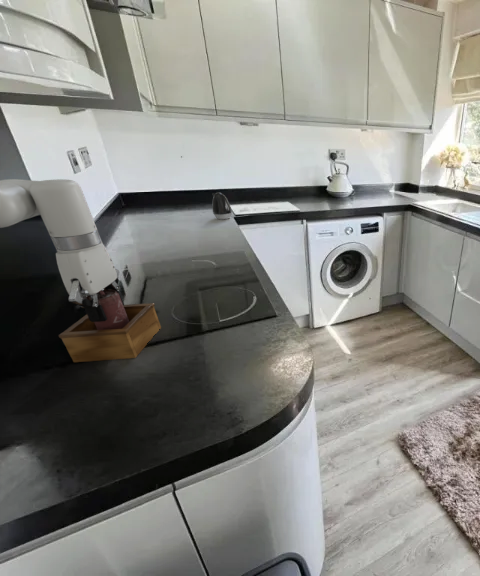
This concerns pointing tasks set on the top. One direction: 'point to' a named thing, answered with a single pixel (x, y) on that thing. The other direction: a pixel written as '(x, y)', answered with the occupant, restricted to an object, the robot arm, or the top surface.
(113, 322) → the can
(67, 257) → the robot arm
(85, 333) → the wooden open box
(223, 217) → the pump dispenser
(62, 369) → the top surface
